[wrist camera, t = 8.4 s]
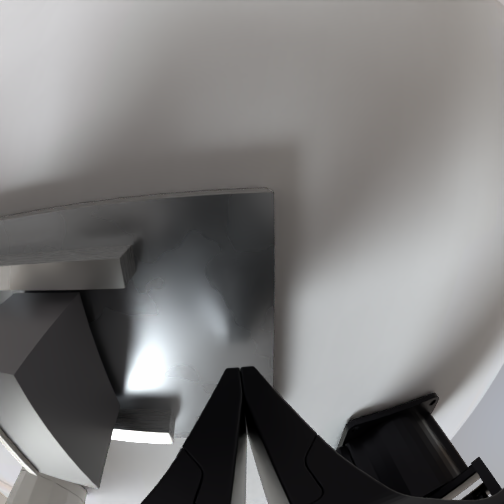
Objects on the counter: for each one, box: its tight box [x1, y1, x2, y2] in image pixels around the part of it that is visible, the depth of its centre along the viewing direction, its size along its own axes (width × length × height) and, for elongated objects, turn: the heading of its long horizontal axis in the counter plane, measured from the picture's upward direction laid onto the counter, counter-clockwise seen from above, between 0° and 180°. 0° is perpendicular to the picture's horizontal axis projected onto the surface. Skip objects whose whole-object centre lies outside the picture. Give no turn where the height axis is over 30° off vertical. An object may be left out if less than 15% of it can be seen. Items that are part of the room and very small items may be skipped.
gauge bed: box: [0, 188, 274, 444], centre depth 8 cm, size 21×10×2 cm, turn 91°
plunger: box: [0, 292, 120, 489], centre depth 6 cm, size 3×6×4 cm, turn 2°
